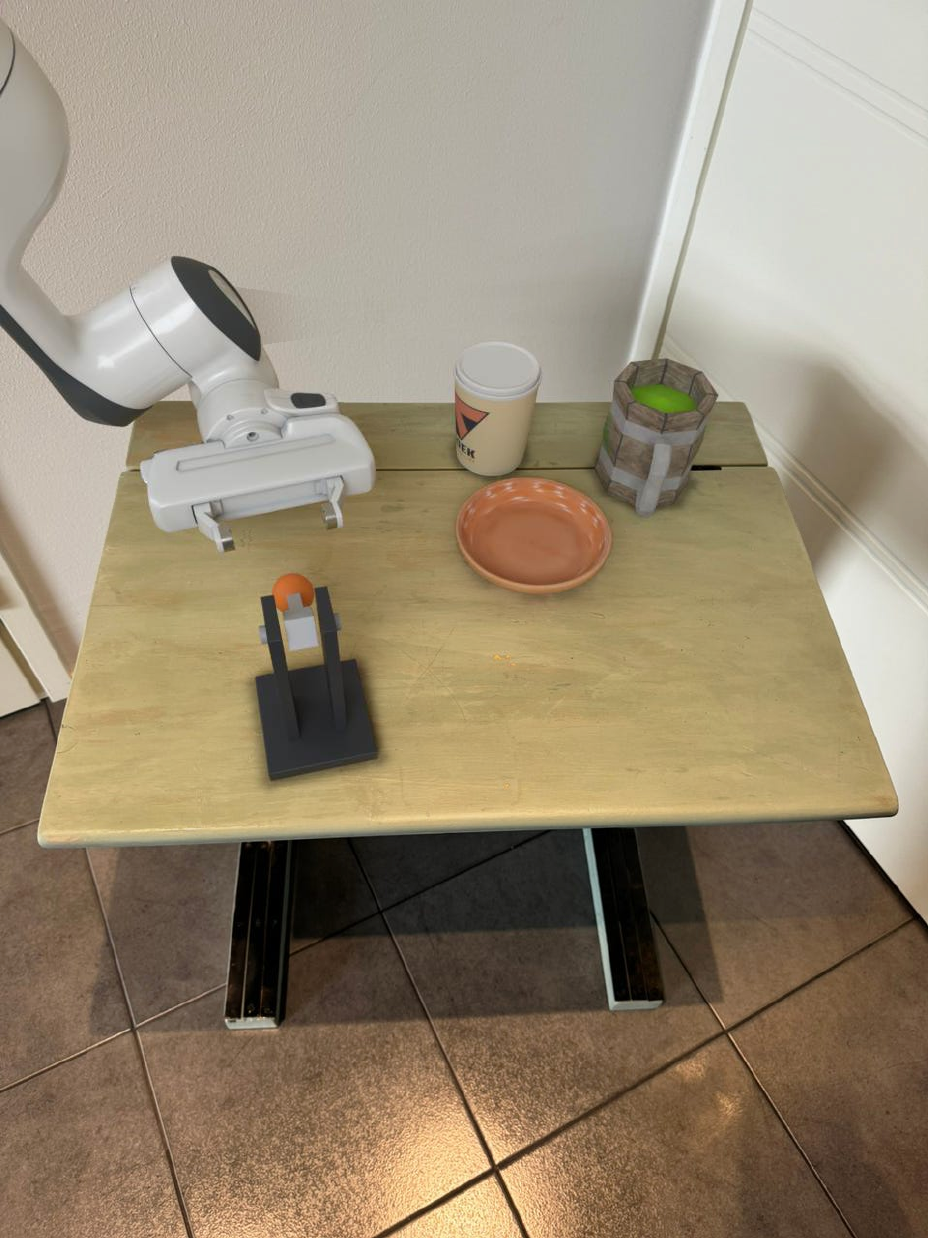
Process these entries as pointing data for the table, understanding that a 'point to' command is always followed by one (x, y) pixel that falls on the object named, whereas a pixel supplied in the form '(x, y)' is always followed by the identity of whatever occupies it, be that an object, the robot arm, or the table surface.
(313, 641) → the lever
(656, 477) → the mug
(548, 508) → the saucer
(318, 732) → the switch base
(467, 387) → the coffee cup
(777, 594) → the table surface
